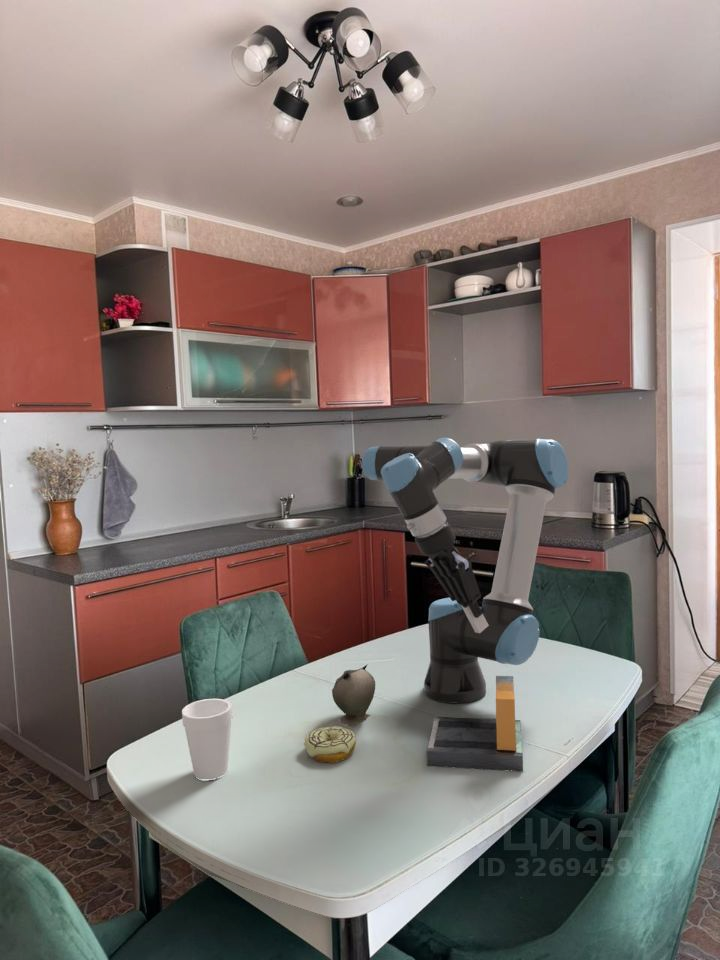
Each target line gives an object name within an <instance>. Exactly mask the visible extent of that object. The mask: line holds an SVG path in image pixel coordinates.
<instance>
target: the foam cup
mask: <svg viewBox="0 0 720 960" xmlns="http://www.w3.org/2000/svg"><path fill="white" fill-rule="evenodd" d="M181 717H182V719H181V720H182V726H183V727H184V730H185V736H186V740H187V745H188V750H189V755H190V756H189V757H190V760H191V761H190V762H191V765H192V770H193V776H194V775H195V776H196V777H197V778H199V779H214V778H218V777H220V776H222V775H224V774H225V773H226V771H227V772H228V769H229V758H230V757H229V756H230V745H231V744H230V742H231V728H232V719H233V706H232V702H230V701H229V700H227V699H224V698H223V699H222V698H207V699H201V700H196V701H192V702H190V703H189V704H186V705H185V706H184V707H183V708H182V710H181ZM226 774H227V773H226ZM195 776H194V777H195Z"/></svg>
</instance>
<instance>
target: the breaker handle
mask: <svg viewBox="0 0 720 960" xmlns="http://www.w3.org/2000/svg"><path fill="white" fill-rule="evenodd" d="M515 699H516V698H515V690H514V691H496V690H495V719H496V727H497V750H513V751H516V736H515V720H516V708H515V707H516V705H515V704H516V703H515V701H516V700H515Z"/></svg>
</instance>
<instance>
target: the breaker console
mask: <svg viewBox="0 0 720 960" xmlns="http://www.w3.org/2000/svg"><path fill="white" fill-rule="evenodd" d="M514 685H515V684H514V676H513V675H495V692H496V691H514V692H515V689H514ZM432 723H433V724H432V727H431V732H430V737H429V741H428V745H427V749H426V760H427V761H426V763H427V764H426V766H427V767H435V766H436V767H437V768H438V766H439V768H452V767H455V769H469V770H475V769H476V770H487V771H489V770H490V771H503V770H509V772H520V771H523V772H524V758H523V757H524V756H523V755H524V754H523V740H522V726H521V725H522V724H521V719H515V736H516V751H513V750H497V727H496V718H480V717H479V718H478V717H457V716H456V717H453V716H434V718H433V722H432ZM470 768H471V769H470ZM488 769H489V770H488ZM511 770H512V771H511Z"/></svg>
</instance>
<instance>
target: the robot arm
mask: <svg viewBox="0 0 720 960" xmlns="http://www.w3.org/2000/svg"><path fill="white" fill-rule="evenodd" d="M361 468H362V471H363V474H364V476H365V477H367V479H369V480H370V481H371V480H372V481H378V482H384V484H385V486H386V490H387V491H388V492H389V494H390V496H391V498H392V499H393V501H394V504H395V505H396V508H397V509H398V510H399V511H398V512H400V514H401V516H402V519H404V522H405V524H406V525H407V526H406V529H407V530H409V531H410V534H411V535H412V537H414V541H415V543H416V546H417V547H418V549H419V551H420V553H421V554H422V555H423V556H428V557H429V558H428V559H426V561H424V564H425V565H426V566H427V567H428V569H430V571H431V572H432V573H433V575H434V577H435V578H436V580H437V581H438V583H439V584H440V586H441V587H442V589H443V590H444V591H445V593H446V594H447V596H448V597H445V598H441V599H437V600H435V601H433V602H432V603H430V605H429V607H428V619H427V622H428V635H429V636H428V637H429V639H428V640H429V659H430V660H429V664H428V666H427V667H428V668H427V671H426V675H425V677H424V681H423V690H424V694H425V696H427V697H428V698H429V699H432V700H433V701H434V700H435V701H437V702H441V703H447V704H448V703H449V704H465V703H472V702H475V701H478V700H480V699H482V698H484V697H485V696H486V693H487V683H486V680H485V677H484V674H483V671H482V668H481V666H480V662H479V659H485V660H489V661H493V662H497V663H499V664H503V665H505V664H506V665H513V666H520V665H523V664H525V662H527V661H528V660H529V659H530V658H531V657H532V655H533V654H534V652H535V651H536V649H537V646H538V643H539V640H540V639H539V638H540V630H541V629H539V628H540V623H539V621H538V619H537V618H536V617H535V616H534V615H533V613H534V608H533V607H532V606H533V605H531V604H530V602H529V597H530V591H531V585H532V581H533V576H534V571H535V564H536V559H537V553H538V548H539V544H540V536H541V533H542V527H543V526H542V525H543V521H544V516H545V512H546V511H545V510H546V504H547V503H548V502H550V501H551V500H553V499H554V497H555V492H556V489H560V488H563V487H564V486H565V484H566V483H567V480H568V477H569V464H568V458H567V455H566V451H565V450H564V447H563V446H562V445H561V443H559V442H558V441H556V440H554V439H544V438H535V439H500V440H492V441H486V442H480V443H468V444H466V445H464V446H462V447H460V445H459V444H458V443H457V442H456V441H455V440H453V439H452V438H449V437H440V438H438V439H437V440H434V441H432V442H431V444H429V445H402V446H401V445H387V446H385V445H378V446H370V447H369V448H368V449H366V451H365V452H364V454H363V455H362V458H361ZM449 479H451V480H453V479H457V480H458V479H463V480H464V481H465V482H468V483H483V484H489V485H494V486H502V487H505V491H506V492H507V494H508V496H509V500H508V505H507V512H506V516H505V521H504V526H503V531H502V536H501V541H500V545H499V551H498V556H497V562H496V566H495V570H494V571H495V572H494V576H493V581H492V587H491V590H490V591H491V592H490V593H488V594H487V595H485V596H484V597H483V599H482V604H481V606H480V605H479V604H478V600H479V599H481V597H482V594H481V591H480V588H479V585H478V583H477V579H476V576H475V573H474V571H473V567H472V559H471V558H470V557H469V556H466V557H463V556H461V555H460V552H459V550H458V549H457V548H456V546H455V545H454V543H455V540H456V534H455V532H454V530H453V529H452V526H451V524H450V523H449V522H447V516H446V515H445V512H444V511H443V509H442V506H441V504H440V503H439V501H438V498H437V497H436V495H435V493H434V491H435V489H437V488H438V487H439V486H440V485H441V484H443V483H444V482H445V481H447V480H449Z"/></svg>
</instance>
